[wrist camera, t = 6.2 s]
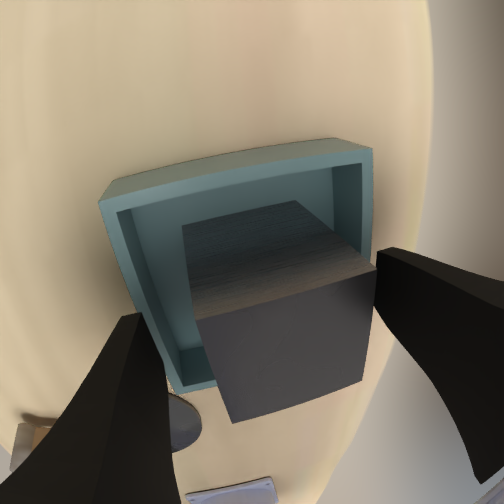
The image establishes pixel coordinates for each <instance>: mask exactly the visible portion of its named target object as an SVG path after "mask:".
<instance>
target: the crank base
mask: <svg viewBox="0 0 504 504" xmlns="http://www.w3.org/2000/svg"><path fill="white" fill-rule="evenodd" d="M168 396H169V416H170V435H171V450H172V453H174V452H177V451H180V450H182V449H184V448H186V447H188V446H190V445H191V444H192V443H194V442H195V441H196V440H197V439H198V437H199V436H200V433H201V430H202V425H201V419H200V416H199V414H198V412H197V411H196V409H195V408H194V407H193V406H192V405H191V404H189V403H188V402H186V401H185V400H183V399H181V398H179V397H177V396H175V395H172V394H170V393H168Z"/></svg>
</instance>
